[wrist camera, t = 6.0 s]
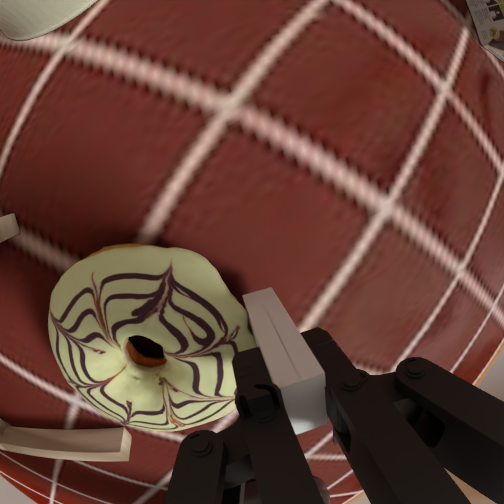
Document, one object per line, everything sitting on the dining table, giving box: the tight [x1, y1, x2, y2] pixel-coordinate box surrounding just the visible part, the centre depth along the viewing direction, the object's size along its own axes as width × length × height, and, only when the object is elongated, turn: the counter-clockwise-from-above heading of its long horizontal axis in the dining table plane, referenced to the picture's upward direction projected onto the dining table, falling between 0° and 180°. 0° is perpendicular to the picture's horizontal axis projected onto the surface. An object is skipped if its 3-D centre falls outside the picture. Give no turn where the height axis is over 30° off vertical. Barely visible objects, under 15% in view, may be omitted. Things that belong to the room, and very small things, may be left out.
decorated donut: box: [48, 243, 257, 431], centre depth 13 cm, size 10×11×4 cm
